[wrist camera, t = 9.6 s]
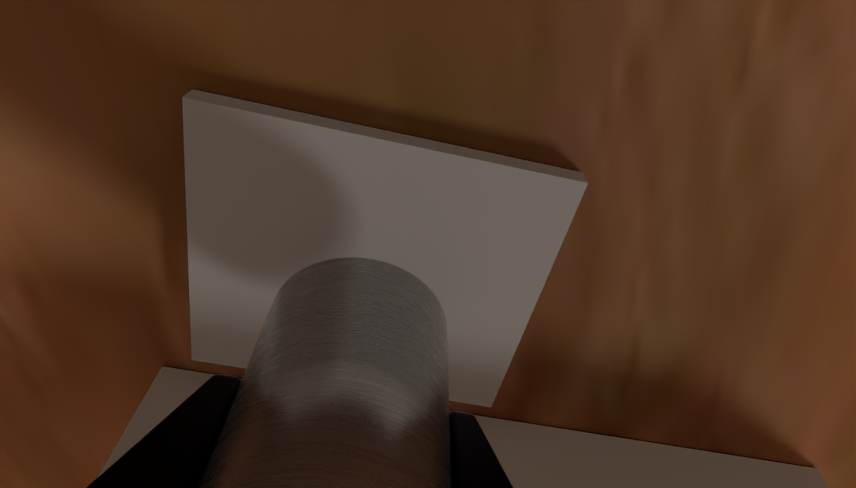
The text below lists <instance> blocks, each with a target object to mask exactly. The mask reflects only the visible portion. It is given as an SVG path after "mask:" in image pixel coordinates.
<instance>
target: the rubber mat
mask: <svg viewBox="0 0 856 488" xmlns="http://www.w3.org/2000/svg"><path fill="white" fill-rule="evenodd" d="M182 107H183V135H184V162H185V190H186V218H187V245H188V273H189V301H190V328H191V356H192V360H194V361H200V362H207V363H213V364H219V365H226V366H232V367H238V368H245V369H246V367H247V365H248V362H249V360H250V357H251V355H252V353H253V350H254V348H255V345H256V343H257V340H258V338H259V335H260V333H261V330H262V328H263V325H264V323H265V320H266V318H267V315H268V313H269V311H270V308H271V306H272V303H273V301H274V298H275V296H276V294H277V293H278V291H279V289H280V288H281V287H282V286H283V284H284V283H285V282H286V281H287V280H288V279H289V278H291V277H292V276H293V275H294V274H296V273H297V272H299V271H300V270H302V269H304V268H306V267H308V266H310V265H312V264H315V263H318V262H321V261H325V260H330V259H335V258H346V257H357V258H367V259H374V260H378V261H382V262H386V263H389V264H392V265H395V266H397V267H399V268H401V269H403V270H405V271H407V272H409V273H411V274H412V275H414V276H415V277H417V278H418V279H420V280H421V281H422V282H423V283H424V284H426V285H427V286H428V288H429V289H430V290H431V291H432V292H433V293H434V294H435V296H436V297H437V299H438V300H439V302H440V304H441V306H442V308H443V310H444V313H445V317H446V322H447V341H448V376H449V401H453V402H460V403H466V404H472V405H479V406H485V407H492V404H493V402H494V400H495V398H496V395H497V393H498V391H499V388H500V386H501V384H502V381H503V379H504V377H505V374H506V372H507V370H508V367H509V365H510V363H511V361H512V358H513V356H514V354H515V351H516V349H517V347H518V344H519V342H520V340H521V337H522V335H523V333H524V330H525V328H526V326H527V323H528V321H529V319H530V317H531V314H532V312H533V310H534V307H535V305H536V303H537V300H538V298H539V296H540V293H541V291H542V289H543V286H544V284H545V282H546V280H547V277H548V275H549V273H550V270H551V268H552V266H553V263H554V261H555V259H556V256H557V254H558V252H559V249H560V247H561V245H562V242H563V240H564V238H565V236H566V233H567V231H568V229H569V226H570V224H571V222H572V219H573V217H574V215H575V212H576V210H577V208H578V205H579V203H580V201H581V199H582V196H583V194H584V192H585V189H586V187H587V185H588V182H587V180H586V178H585V176H584V174H583V173H582V172H578V171H574V170H569V169H564V168H560V167H555V166H550V165H545V164H541V163H536V162H531V161H527V160H522V159H517V158H513V157H508V156H503V155H499V154H494V153H489V152H485V151H480V150H475V149H470V148H466V147H461V146H456V145H452V144H447V143H442V142H438V141H433V140H428V139H424V138H419V137H414V136H410V135H405V134H400V133H395V132H391V131H386V130H381V129H377V128H372V127H367V126H363V125H358V124H353V123H349V122H344V121H339V120H335V119H330V118H325V117H320V116H316V115H311V114H306V113H302V112H297V111H292V110H288V109H283V108H278V107H274V106H269V105H264V104H260V103H255V102H250V101H245V100H241V99H236V98H231V97H227V96H222V95H217V94H213V93H208V92H203V91H199V90H194V89H192V90H191V91H190V92H188V93H187V94H186V95H184V96H183V97H182Z"/></svg>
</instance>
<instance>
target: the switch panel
mask: <svg viewBox="0 0 856 488" xmlns="http://www.w3.org/2000/svg"><path fill="white" fill-rule="evenodd" d="M213 375H215V374H208V373H202V372H195V371H189V370H183V369H176V368H170V367H163V366H162V367H161V369H160V371H159V373H158V374H157V376H156V378H155V379H154V381H153V383H152V384H151V386H150V388H149V390H148V391H147V393H146V395H145V396H144V398H143V400H142V402H141V403H140V405H139V407H138V408H137V410H136V412H135V414H134V415H133V417H132V419H131V420H130V422H129V424H128V425H127V427H126V429H125V431H124V432H123V434H122V436H121V437H120V439H119V441H118V443H117V444H116V446H115V448H114V449H113V451H112V453H111V455H110V456H109V458H108V460H107V461H106V463H105V465H104V467H103V468H102V470H101V472H100V473H99V475H98V477H99V476H100V475H101V474H102V473H103V472H105V471H106V470H107V469H108V468H109V467H110V466H111V465H112V464H114V463H115V462H116V461H117V460H118V459H119V458H120V457H122V456H123V455H124V454H125V453H126V452H127V451H128V450H129V449H131V448H132V447H133V446H134V445H135V444H136V443H137V442H138V441H140V440H141V439H142V438H143V437H144V436H145V435H146V434H148V433H149V432H150V431H151V430H152V429H153V428H154V427H155V426H157V425H158V424H159V423H160V422H161V421H162V420H163V419H165V418H166V417H167V416H168V415H169V414H170V413H171V412H172V411H174V410H175V409H176V408H177V407H178V406H179V405H180V404H181V403H183V402H184V401H185V400H186V399H187V398H188V397H189V396H191V395H192V394H193V393H194V392H195V391H196V390H197V389H198V388H200V387H201V386H202V385H203V384H204V383H205V382H206V381H207V380H209V379H210V378H211V377H212V376H213ZM241 380H242V379H241ZM450 412H451V411H450ZM474 416H475V417H476V419H477V421H478V423H479V425H480V427H481V428H482V430H483V432H484V434H485V436H486V438H487V440H488V442H489V443H490V445H491V447H492V449H493V451H494V453H495V455H496V456H497V458H498V460H499V462H500V464H501V466H502V468H503V470H504V471H505V473H506V475H507V477H508V479H509V481H510V483H511V484H512V486H513V488H830V487H829V485H828V484H827V482H826V481H825V479H824V478H823V476H822V475H821V473H820V472H819V470H818V469H817V468H811V467H805V466H798V465H792V464H785V463H779V462H773V461H766V460H760V459H753V458H747V457H740V456H734V455H728V454H721V453H715V452H708V451H702V450H696V449H689V448H683V447H676V446H670V445H664V444H657V443H651V442H644V441H638V440H631V439H625V438H619V437H612V436H606V435H599V434H593V433H587V432H580V431H574V430H567V429H561V428H555V427H548V426H542V425H535V424H529V423H522V422H516V421H510V420H503V419H497V418H490V417H484V416H478V415H474ZM98 477H97V478H98ZM97 478H96V479H97Z"/></svg>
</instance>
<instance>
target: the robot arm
mask: <svg viewBox="0 0 856 488" xmlns="http://www.w3.org/2000/svg"><path fill="white" fill-rule="evenodd" d="M240 382H241V379H240V378H239V377H238V376H234V375H227V374H221V373H218V374H215V375H213V376H212V377H211V378H210V379H209V380H207V381H206V382H205V383H204V384H203V385H202V386H201V387H200V388H198V389H197V390H196V391H195V392H194V393H193V394H192V395H191V396H189V397H188V398H187V399H186V400H185V401H184V402H183V403H181V404H180V405H179V406H178V407H177V408H176V409H175V410H174V411H172V412H171V413H170V414H169V415H168V416H167V417H166V418H165V419H163V420H162V421H161V422H160V423H159V424H158V425H157V426H155V427H154V428H153V429H152V430H151V431H150V432H149V433H148V434H146V435H145V436H144V437H143V438H142V439H141V440H140V441H138V442H137V443H136V444H135V445H134V446H133V447H132V448H131V449H129V450H128V451H127V452H126V453H125V454H124V455H123V456H122V457H120V458H119V459H118V460H117V461H116V462H115V463H114V464H112V465H111V466H110V467H109V468H108V469H107V470H106V471H105V472H103V473H102V474H101V475H100V476H99V477H98V478H97V479H96V480H94V481H93V482H92V483H91V484H90V485H89V486H88V487H86V488H198V486H199V483H200V481H201V478H202V476H203V474H204V471H205V469H206V466H207V464H208V461H209V459H210V456H211V454H212V451H213V449H214V446H215V444H216V441H217V439H218V436H219V434H220V432H221V429H222V427H223V424H224V422H225V419H226V417H227V414H228V412H229V409H230V407H231V404H232V402H233V399H234V397H235V395H236V392H237V390H238V387H239V385H240ZM450 446H451V481H452V488H513V486H512V484H511V483H510V481H509V479H508V477H507V475H506V473H505V471H504V470H503V468H502V466H501V464H500V462H499V460H498V458H497V456H496V455H495V453H494V451H493V449H492V447H491V445H490V443H489V442H488V440H487V438H486V436H485V434H484V432H483V430H482V428H481V427H480V425H479V423H478V421H477V419H476V417H475V416H474V415H473V414H472V413H468V412H462V411H456V410H453V411H451V412H450Z"/></svg>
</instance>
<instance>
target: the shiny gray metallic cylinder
mask: <svg viewBox="0 0 856 488" xmlns="http://www.w3.org/2000/svg"><path fill="white" fill-rule="evenodd" d="M198 488H452V481H451V446H450V411H449V376H448V341H447V322H446V317H445V313H444V310H443V308H442V306H441V304H440V302H439V300H438V299H437V297H436V296H435V294H434V293H433V292H432V291H431V290H430V289H429V288H428V286H427V285H426V284H424V283H423V282H422V281H421V280H420V279H418V278H417V277H415V276H414V275H412V274H411V273H409V272H407V271H405V270H403V269H401V268H399V267H397V266H395V265H392V264H389V263H386V262H382V261H378V260H374V259H367V258H357V257H346V258H335V259H330V260H325V261H321V262H318V263H315V264H312V265H310V266H308V267H306V268H304V269H302V270H300V271H299V272H297V273H296V274H294V275H293V276H292V277H291V278H289V279H288V280H287V281H286V282H285V283H284V284H283V286H282V287H281V288H280V289H279V291H278V293H277V294H276V296H275V298H274V301H273V303H272V306H271V308H270V311H269V313H268V315H267V318H266V320H265V323H264V325H263V328H262V330H261V333H260V335H259V338H258V340H257V343H256V345H255V348H254V350H253V353H252V355H251V357H250V360H249V362H248V365H247V367H246V370H245V372H244V375H243V377H242V380H241V382H240V385H239V387H238V390H237V392H236V395H235V397H234V399H233V402H232V404H231V407H230V409H229V412H228V414H227V417H226V419H225V422H224V424H223V427H222V429H221V432H220V434H219V436H218V439H217V441H216V444H215V446H214V449H213V451H212V454H211V456H210V459H209V461H208V464H207V466H206V469H205V471H204V474H203V476H202V478H201V481H200V483H199V486H198Z"/></svg>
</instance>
